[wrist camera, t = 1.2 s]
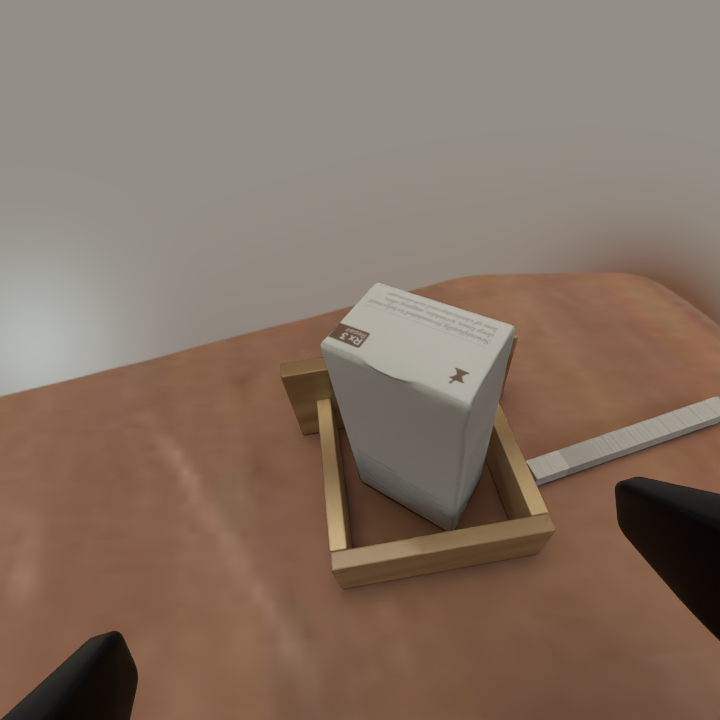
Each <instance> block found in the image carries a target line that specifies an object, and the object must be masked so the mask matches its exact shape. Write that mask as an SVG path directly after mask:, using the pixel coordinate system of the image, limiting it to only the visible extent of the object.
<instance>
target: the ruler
mask: <svg viewBox="0 0 720 720" xmlns="http://www.w3.org/2000/svg"><path fill="white" fill-rule="evenodd" d="M719 422H720V398H719V397H718V396H716V397H713V398H710V399H707V400H704V401H701V402H698V403H696V404H693V405H690V406H687V407H684V408H681V409H678V410H675V411H672V412H669V413H666V414H663V415H660V416H657V417H654V418H651V419H648V420H645V421H642V422H640V423H637V424H634V425H631V426H628V427H625V428H622V429H619V430H616V431H613V432H610V433H607V434H604V435H601V436H598V437H595V438H592V439H589V440H586V441H584V442H581V443H578V444H575V445H572V446H569V447H566V448H563V449H560V450H557V451H554V452H551V453H548V454H545V455H542V456H539V457H536V458H533V459H530V460H527V461H526V463H527V466H528V468H529V470H530V472H531V475H532V477H533V479H534V481H535V483H536V486H538V485H541V484H544V483H547V482H550V481H552V480H555V479H558V478H561V477H564V476H567V475H570V474H573V473H575V472H578V471H581V470H584V469H587V468H590V467H593V466H596V465H598V464H601V463H604V462H607V461H610V460H613V459H616V458H618V457H621V456H624V455H627V454H630V453H633V452H636V451H639V450H641V449H644V448H647V447H650V446H653V445H656V444H659V443H662V442H664V441H667V440H670V439H673V438H676V437H679V436H682V435H684V434H687V433H690V432H693V431H696V430H699V429H702V428H705V427H707V426H710V425H713V424H716V423H719Z"/></svg>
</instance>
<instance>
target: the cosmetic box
mask: <svg viewBox="0 0 720 720" xmlns="http://www.w3.org/2000/svg"><path fill="white" fill-rule="evenodd" d="M514 333H515V327H514V326H513V325H510V324H507V323H504V322H500V321H497V320H494V319H491V318H488V317H484V316H481V315H478V314H475V313H472V312H469V311H466V310H462V309H459V308H456V307H453V306H450V305H447V304H443V303H440V302H437V301H434V300H431V299H428V298H425V297H422V296H418V295H415V294H412V293H409V292H406V291H402V290H400V289H396V288H393V287H390V286H387V285H384V284H381V283H375V284H374V286H373V287H372V288H371V289H370V290H369V291H368V292H367V293H366V294H365V295H364V296H363V298H362V299H361V300H360V301H359V302H358V303H357V304H356V305H355V306H354V307H353V309H352V310H351V311H350V312H349V313H348V314H347V315H346V316H345V317H344V319H343V320H342V321H341V322H340V323H339V324H338V326H337V327H336V328H335V329H334V330H333V331H332V332H331V333H330V334H329V335H328V337H327V338H326V339H325V340H324V341H323V342H322V343H321V350H322V353H323V356H324V360H325V363H326V366H327V369H328V373H329V376H330V379H331V383H332V386H333V389H334V392H335V396H336V399H337V402H338V406H339V409H340V412H341V416H342V419H343V422H344V426H345V429H346V432H347V436H348V439H349V442H350V446H351V449H352V452H353V455H354V459H355V462H356V466H357V469H358V473H359V476H360V479H361V481H363V482H364V483H366V484H368V485H369V486H371V487H373V488H375V489H376V490H378V491H380V492H381V493H383V494H385V495H386V496H388V497H390V498H392V499H393V500H395V501H397V502H398V503H400V504H402V505H403V506H405V507H407V508H408V509H410V510H412V511H414V512H415V513H417V514H419V515H420V516H422V517H424V518H426V519H427V520H429V521H431V522H432V523H434V524H436V525H437V526H439V527H441V528H442V529H444V530H446V531H452V530H455V529H456V526H457V524H458V522H459V520H460V518H461V516H462V515H463V513H464V511H465V509H466V507H467V505H468V503H469V501H470V498H471V496H472V494H473V492H474V490H475V488H476V486H477V484H478V482H479V480H480V478H481V475H482V472H483V466H484V462H485V457H486V453H487V449H488V445H489V441H490V436H491V432H492V428H493V424H494V419H495V415H496V411H497V406H498V402H499V398H500V394H501V390H502V385H503V381H504V377H505V372H506V366H507V361H508V358H509V355H510V351H511V347H512V343H513V338H514Z"/></svg>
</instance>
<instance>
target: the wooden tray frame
mask: <svg viewBox="0 0 720 720" xmlns="http://www.w3.org/2000/svg"><path fill="white" fill-rule="evenodd" d="M517 339H518V336H517V335H516V333H514V338H513V343H512V347H511V351H510V355H509V358H508V361H507V366H506V372H505V377H504V381H503V385H502V390H501V394H500V398H499V401H500V399H501V395H502V392H503V388H504V385H505V381H506V378H507V374H508V371H509V367H510V364H511V360H512V357H513V353H514V349H515V346H516V342H517ZM281 379H282V381H283V384H284V387H285V389H286V392H287V394H288V397H289V399H290V402H291V405H292V407H293V410H294V412H295V415H296V417H297V420H298V423H299V425H300V428H301V430H302V433H303V435H305V434H311V433H317V432H320V444H321V456H322V468H323V480H324V491H325V503H326V515H327V527H328V539H329V550H330V552H331V553H330V562H331V570H332V572H333V574H334V576H335V577H336V579H337V581H338V583H339V585H340V586H341V588H342V589H346V588H351V587H357V586H362V585H368V584H373V583H379V582H385V581H390V580H396V579H401V578H407V577H412V576H418V575H423V574H429V573H434V572H440V571H445V570H451V569H456V568H462V567H467V566H473V565H479V564H484V563H490V562H495V561H501V560H506V559H512V558H517V557H523V556H528V555H534V554H538V553H539V551H540V550H541V549H542V548H543V546H544V545H545V544H546V542H547V541H548V540H549V539H550V537H551V536H552V535H553V534H554V532H555V531H556V528H555V526H554V524H553V522H552V520H551V517H550V515H549V514H548V510H547V508H546V505H545V503H544V501H543V499H542V497H541V494H540V492H539V490H538V488H537V486H536V483H535V481H534V479H533V477H532V475H531V472H530V470H529V468H528V466H527V463H526V461H525V459H524V457H523V455H522V452H521V450H520V448H519V446H518V444H517V441H516V439H515V437H514V435H513V432H512V430H511V428H510V426H509V424H508V421H507V419H506V417H505V415H504V413H503V410H502V408H501V406H500V404H499V402H498V406H497V411H496V415H495V419H494V424H493V428H492V432H491V436H490V441H489V445H488V449H487V453H486V457H485V458H486V461H487V463H488V466H489V469H490V471H491V474H492V477H493V479H494V482H495V484H496V487H497V490H498V492H499V495H500V498H501V500H502V503H503V505H504V508H505V511H506V513H507V516H508V518H509V520H508V521H502V522H496V523H491V524H485V525H480V526H474V527H468V528H463V529H457V530H452V531H446V532H440V533H435V534H429V535H424V536H418V537H412V538H407V539H401V540H396V541H390V542H385V543H379V544H373V545H368V546H362V547H357V548H353V547H352V539H351V531H350V522H349V514H348V506H347V498H346V489H345V481H344V473H343V465H342V456H341V448H340V440H339V432H338V429H340V428H345V426H344V422H343V419H342V416H341V412H340V409H339V406H338V402H337V399H336V396H335V392H334V389H333V386H332V383H331V379H330V376H329V373H328V369H327V366H326V363H325V360H324V357H320V358H314V359H308V360H302V361H296V362H290V363H284V364H281Z"/></svg>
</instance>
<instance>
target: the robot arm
mask: <svg viewBox="0 0 720 720" xmlns="http://www.w3.org/2000/svg"><path fill="white" fill-rule="evenodd" d="M615 497H616V509H617V520H618V524H619V527H620V529H621V531H622V532H623V534H624V535H625V536H626V538H627V539H628V540H629V541H630V542H631V543H632V545H633V546H634V547H635V548H636V549H637V550H638V551H639V553H640V554H641V555H642V556H643V557H644V558H645V560H646V561H647V562H648V563H649V564H650V565H651V567H652V568H653V569H654V570H655V571H656V572H657V574H658V575H659V576H660V577H661V578H662V579H663V580H664V582H665V583H666V584H667V585H668V586H669V587H670V589H671V590H672V591H673V592H674V593H675V594H676V596H677V597H678V598H679V599H680V600H681V601H682V602H683V603H684V605H685V606H686V607H687V608H688V609H689V610H690V611H691V612H692V613H693V614H694V615H695V616H696V617H697V618H698V619H699V620H700V622H701V623H702V624H703V625H704V626H705V627H706V628H707V629H708V630H709V631H710V632H711V633H712V634H713V635H714V636H715V637H716V638H717V639H718V640H719V641H720V494H717V493H713V492H708V491H704V490H699V489H694V488H690V487H685V486H681V485H676V484H671V483H667V482H662V481H658V480H653V479H648V478H644V477H633V478H630V479H627V480H623V481H620V482H618V483H617V484H616V487H615ZM137 683H138V673H137V668H136V665H135V663H134V660H133V658H132V656H131V654H130V651H129V649H128V647H127V644H126V642H125V640H124V638H123V636H122V634H121V633H120V632H118V631H112V632H108V633H105V634H102V635H98V636H95V637H92V638H91V639H89V640H88V641H86V642H85V643H84V644H83V645H82V646H81V647H80V648H79V649H78V650H77V651H75V652H74V653H73V654H72V655H71V656H70V657H69V658H68V659H67V660H66V661H65V662H63V663H62V664H61V665H60V666H59V667H58V668H57V669H56V670H55V671H54V672H52V673H51V674H50V675H49V676H48V677H47V678H46V679H45V680H44V681H43V682H42V683H40V684H39V685H38V686H37V687H36V688H35V689H34V690H33V691H32V692H31V693H29V694H28V695H27V696H26V697H25V698H24V699H23V700H22V701H21V702H20V703H19V704H17V705H16V706H15V707H14V708H13V709H12V710H11V711H10V712H9V713H8V714H6V715H5V716H4V717H3V718H2V719H1V720H130V717H131V712H132V707H133V703H134V698H135V693H136V689H137Z"/></svg>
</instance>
